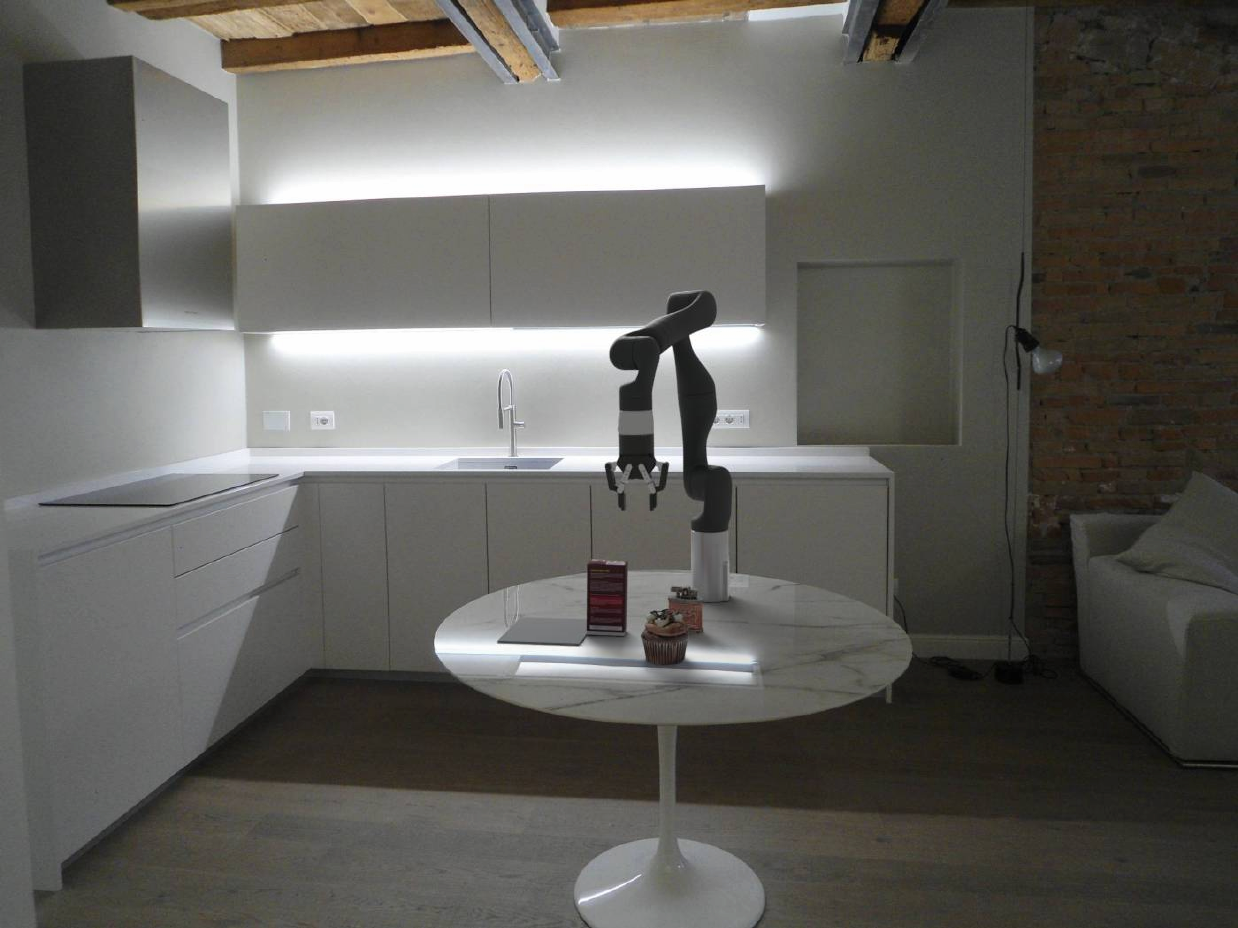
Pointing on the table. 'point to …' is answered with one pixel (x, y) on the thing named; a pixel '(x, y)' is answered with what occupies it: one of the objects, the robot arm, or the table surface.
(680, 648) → the cupcake
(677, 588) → the lighter
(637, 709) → the table surface
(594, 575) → the supplement box
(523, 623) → the mat
